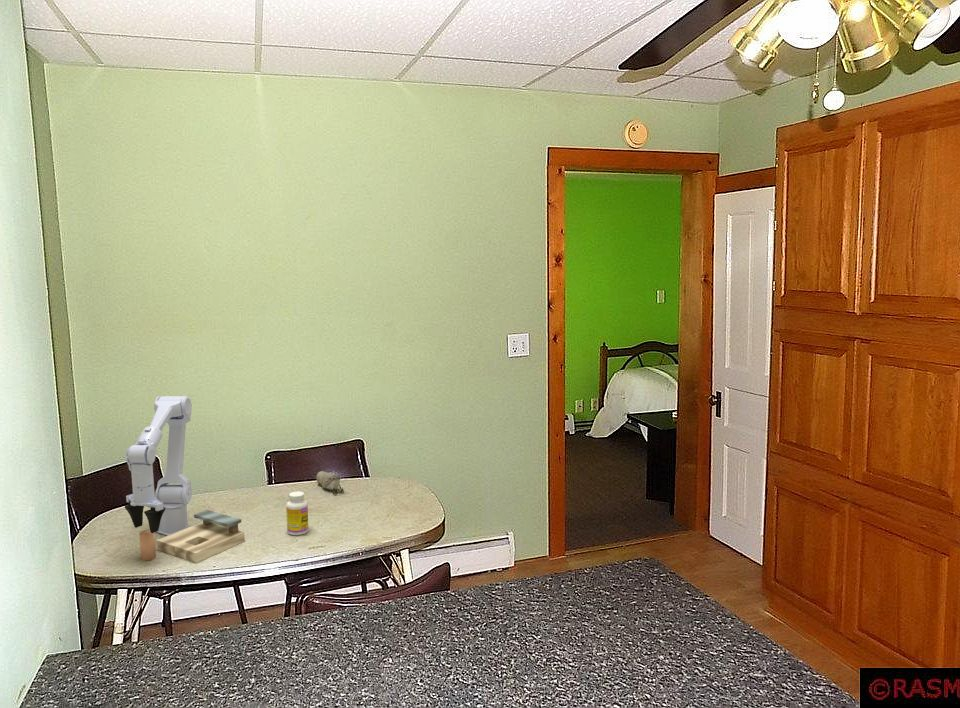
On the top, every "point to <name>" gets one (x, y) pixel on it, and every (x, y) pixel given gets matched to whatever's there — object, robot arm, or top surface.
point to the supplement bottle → (297, 514)
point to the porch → (203, 537)
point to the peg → (147, 545)
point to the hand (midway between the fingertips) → (146, 529)
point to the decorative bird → (329, 481)
